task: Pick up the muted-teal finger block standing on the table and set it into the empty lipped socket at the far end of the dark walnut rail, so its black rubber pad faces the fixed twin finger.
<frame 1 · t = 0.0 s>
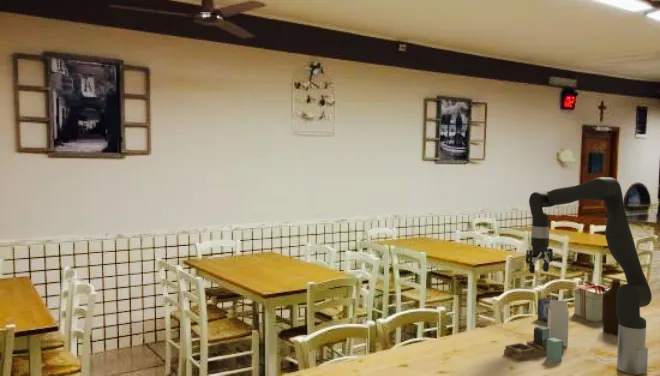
hand: (539, 272, 251), 29 cm above the table, fingers open, 8 cm apart
milk carton: (557, 344, 242), on the table
gift box: (593, 317, 284), on the table
walnut rail: (531, 353, 230), on the table
olive oil: (614, 332, 260), on the table
small box: (549, 321, 277), on the table
teal finger: (554, 359, 223), on the table
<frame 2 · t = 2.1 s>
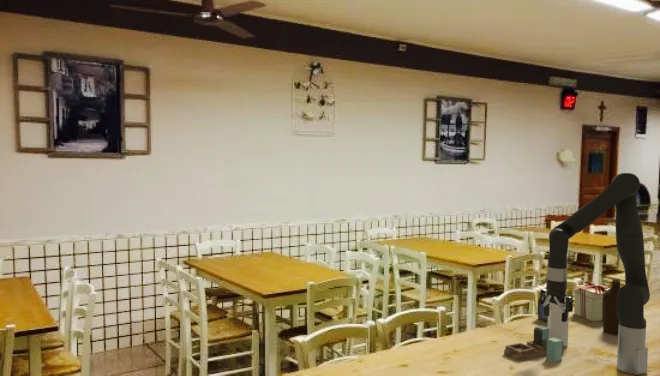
hand: (555, 318, 223), 16 cm above the table, fingers open, 8 cm apart
nothing on the table moved.
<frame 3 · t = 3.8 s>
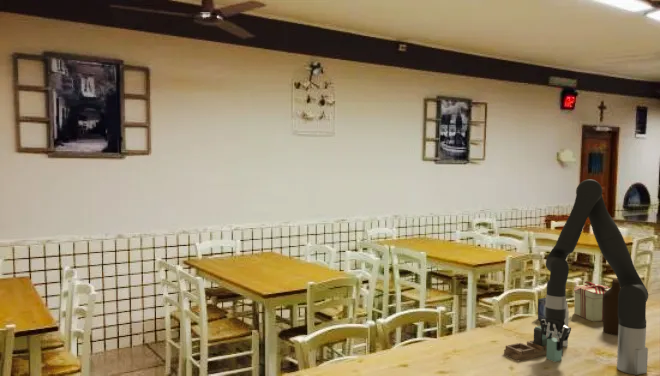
hand: (554, 348, 223), 4 cm above the table, fingers closed on teal finger, 4 cm apart
teal finger: (553, 359, 223), on the table, touching gripper
everything else where it was.
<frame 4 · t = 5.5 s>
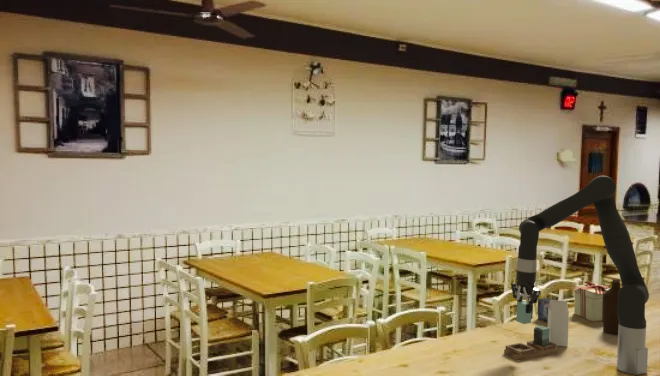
hand: (524, 311, 226), 18 cm above the table, fingers closed on teal finger, 4 cm apart
teal finger: (523, 322, 226), point 14 cm above the table, touching gripper
everything else where it was.
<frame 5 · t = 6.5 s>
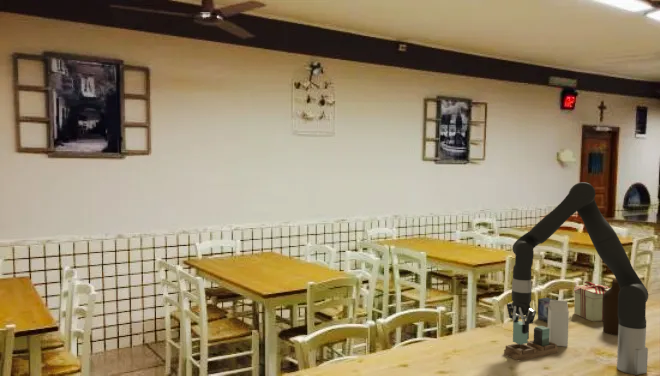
hand: (520, 331, 226), 10 cm above the table, fingers closed on teal finger, 4 cm apart
teal finger: (520, 342, 227), point 6 cm above the table, touching gripper
everything else where it was.
when the fingers open (7 cm above the table, at t = 7.3 s): teal finger stays where it is, resting on walnut rail.
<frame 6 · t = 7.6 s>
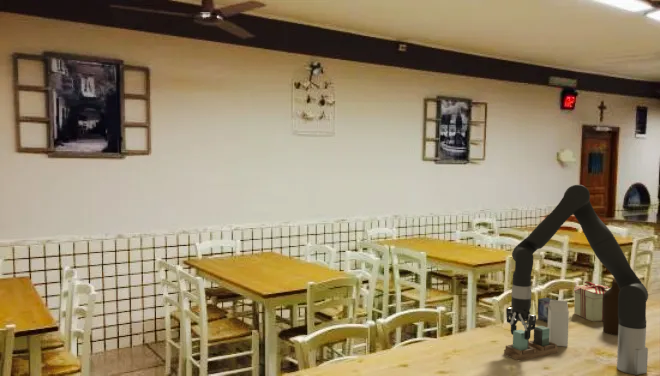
hand: (520, 336, 226), 8 cm above the table, fingers open, 6 cm apart
teal finger: (519, 350, 227), point 2 cm above the table, touching walnut rail
everything else where it was.
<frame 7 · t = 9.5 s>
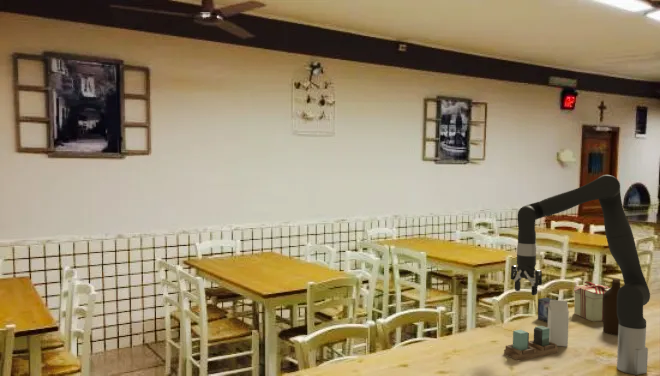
hand: (525, 292, 231), 25 cm above the table, fingers open, 8 cm apart
nothing on the table moved.
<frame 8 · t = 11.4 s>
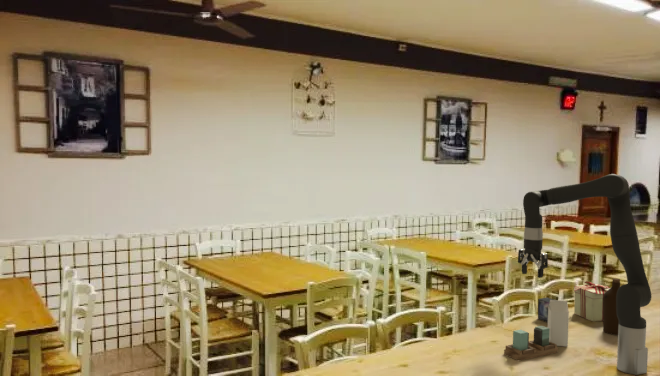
hand: (532, 275, 239), 30 cm above the table, fingers open, 8 cm apart
nothing on the table moved.
at the end: teal finger 0.2 cm from the target spot on the walnut rail, point 2.0 cm above the walnut rail's base; teal finger tilted 0°; the gripper is holding nothing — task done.
